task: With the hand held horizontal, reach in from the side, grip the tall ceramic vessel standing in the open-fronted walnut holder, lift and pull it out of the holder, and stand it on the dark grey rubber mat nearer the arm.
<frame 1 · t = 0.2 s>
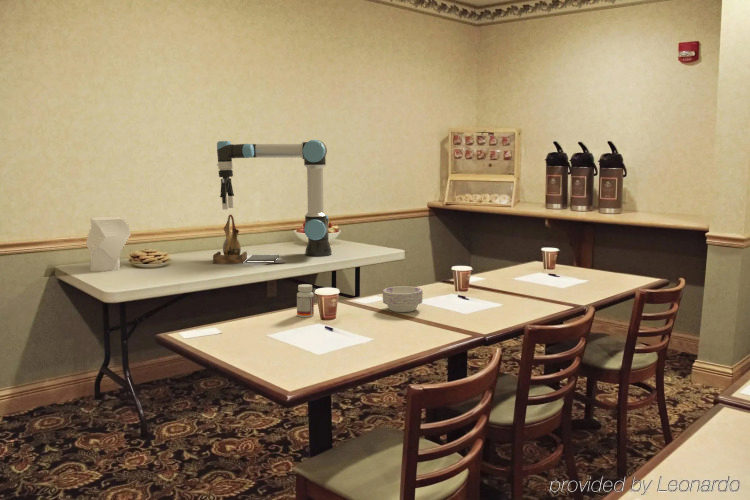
hand: (228, 208, 372), 27 cm above the table, tool pointing down, fingers open, 13 cm apart
ceramic vessel: (232, 260, 368), resting in holder
paper bowls: (402, 310, 259), on the table
holder: (232, 260, 368), on the table
white faceted vase: (109, 268, 344), on the table
pill bottle: (305, 316, 249), on the table
mat: (263, 259, 371), on the table
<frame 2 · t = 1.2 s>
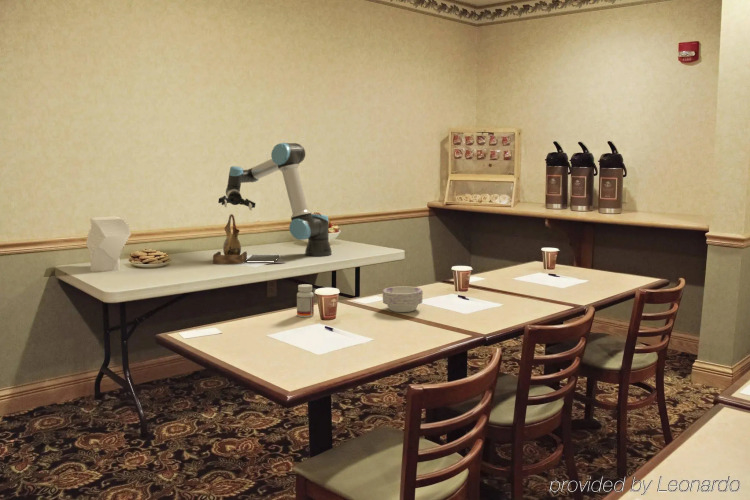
hand: (238, 206, 370), 29 cm above the table, tool horizontal, fingers open, 13 cm apart
nothing on the table moved.
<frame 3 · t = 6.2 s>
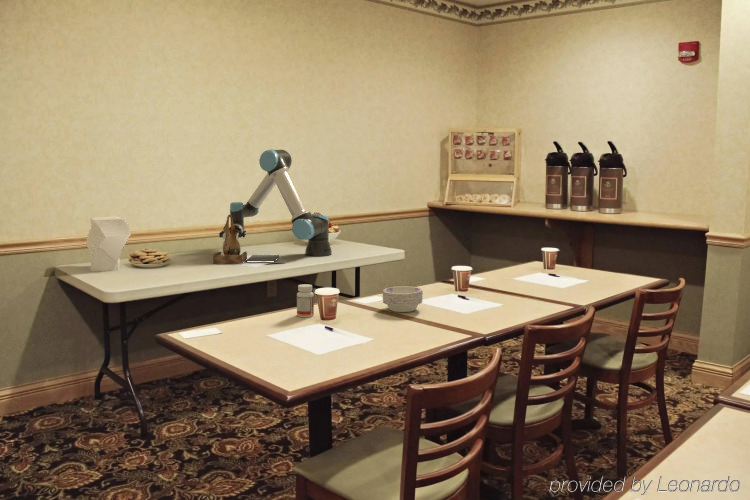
hand: (230, 236, 361), 14 cm above the table, tool horizontal, fingers closed on ceramic vessel, 6 cm apart
ceramic vessel: (232, 260, 368), resting in holder, touching gripper
everything else where it was.
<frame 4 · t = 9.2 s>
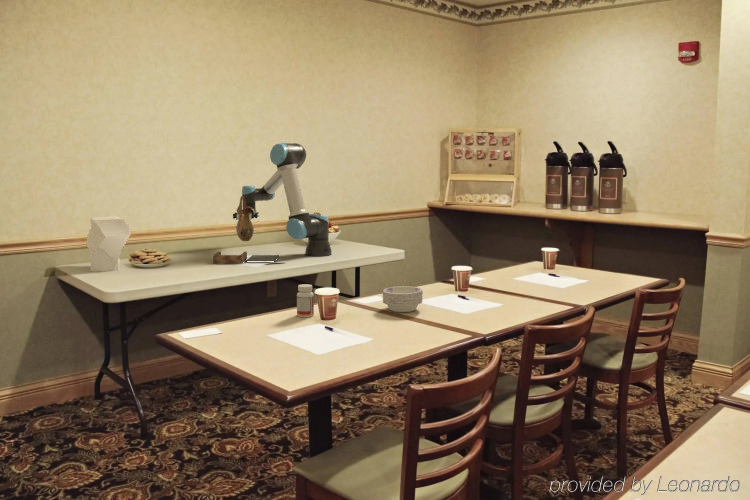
hand: (243, 217, 369), 23 cm above the table, tool horizontal, fingers closed on ceramic vessel, 6 cm apart
ceramic vessel: (245, 241, 376), point 9 cm above the table, touching gripper
everything else where it was.
when the fingers open (16 cm above the table, at t = 12.2 s): ceramic vessel moves 1 cm, resting on mat.
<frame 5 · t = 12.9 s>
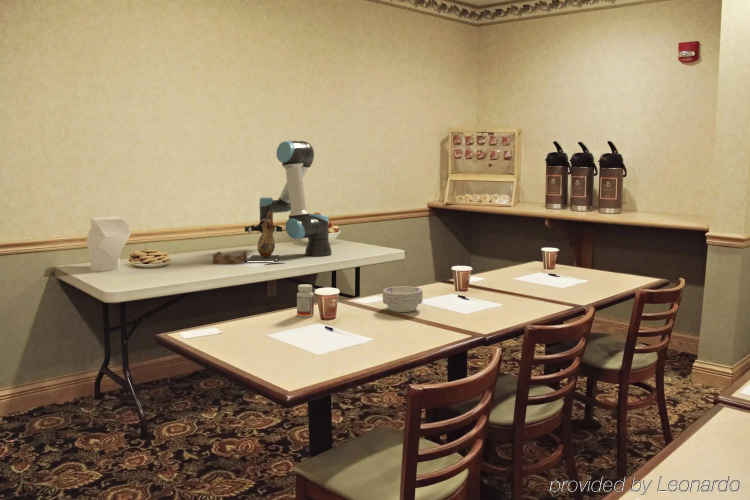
hand: (262, 231, 365), 16 cm above the table, tool horizontal, fingers open, 13 cm apart
ceramic vessel: (264, 257, 370), point 2 cm above the table, touching gripper, mat
everything else where it was.
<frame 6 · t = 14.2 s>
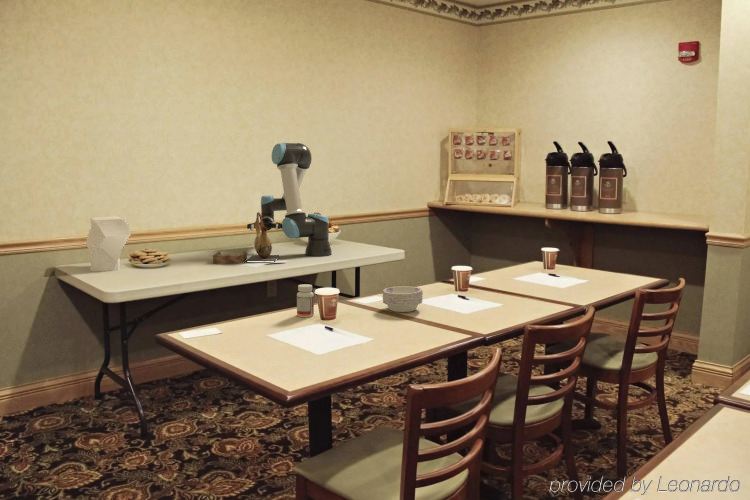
hand: (264, 228, 378), 16 cm above the table, tool horizontal, fingers open, 13 cm apart
ceramic vessel: (264, 257, 370), point 1 cm above the table, touching mat
everything else where it was.
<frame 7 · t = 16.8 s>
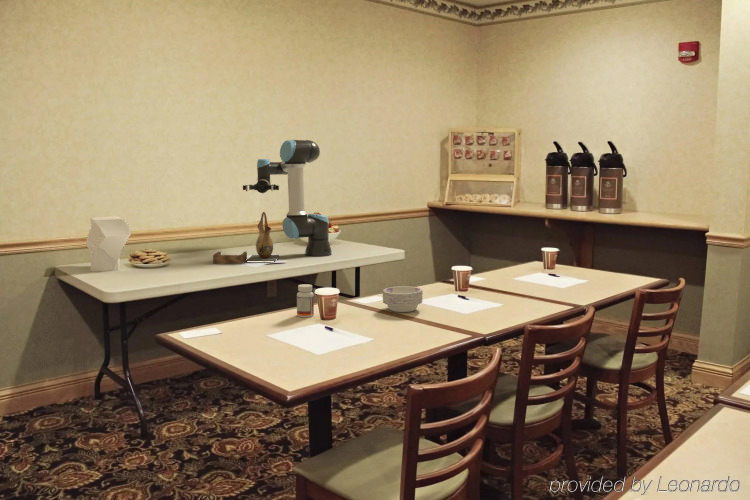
hand: (259, 188, 377), 38 cm above the table, tool horizontal, fingers open, 13 cm apart
at the end: ceramic vessel inside the target area on the mat (1.1 cm from its centre), point 1.0 cm above the mat's base; ceramic vessel tilted 0°; the gripper is holding nothing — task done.
